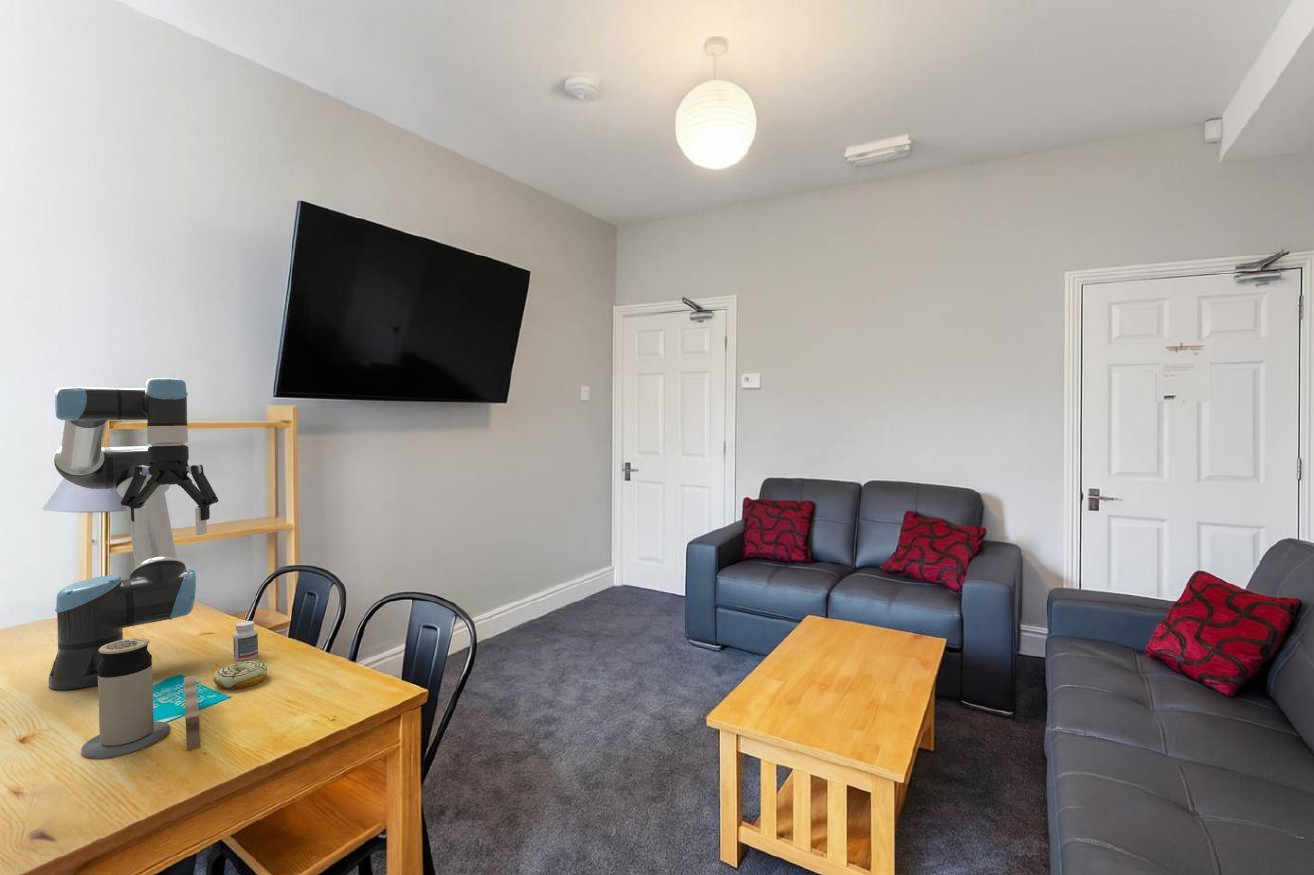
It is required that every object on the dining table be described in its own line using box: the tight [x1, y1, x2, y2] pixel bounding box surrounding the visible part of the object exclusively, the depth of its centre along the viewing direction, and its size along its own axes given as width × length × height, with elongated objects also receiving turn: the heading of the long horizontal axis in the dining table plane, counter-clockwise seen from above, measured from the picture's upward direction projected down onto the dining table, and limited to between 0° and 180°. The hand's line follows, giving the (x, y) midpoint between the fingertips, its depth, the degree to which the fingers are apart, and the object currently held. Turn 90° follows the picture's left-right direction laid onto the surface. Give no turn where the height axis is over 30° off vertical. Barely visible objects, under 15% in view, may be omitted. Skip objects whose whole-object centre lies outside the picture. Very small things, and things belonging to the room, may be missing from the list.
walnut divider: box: [183, 674, 201, 751], centre depth 126 cm, size 24×2×6 cm, turn 38°
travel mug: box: [97, 637, 155, 746], centre depth 120 cm, size 8×8×18 cm
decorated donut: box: [212, 660, 268, 690], centre depth 147 cm, size 10×11×4 cm
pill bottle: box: [232, 620, 259, 661], centre depth 163 cm, size 5×5×9 cm
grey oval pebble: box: [80, 720, 171, 760], centre depth 120 cm, size 13×13×1 cm
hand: (171, 535), depth 147 cm, fingers open, 13 cm apart
